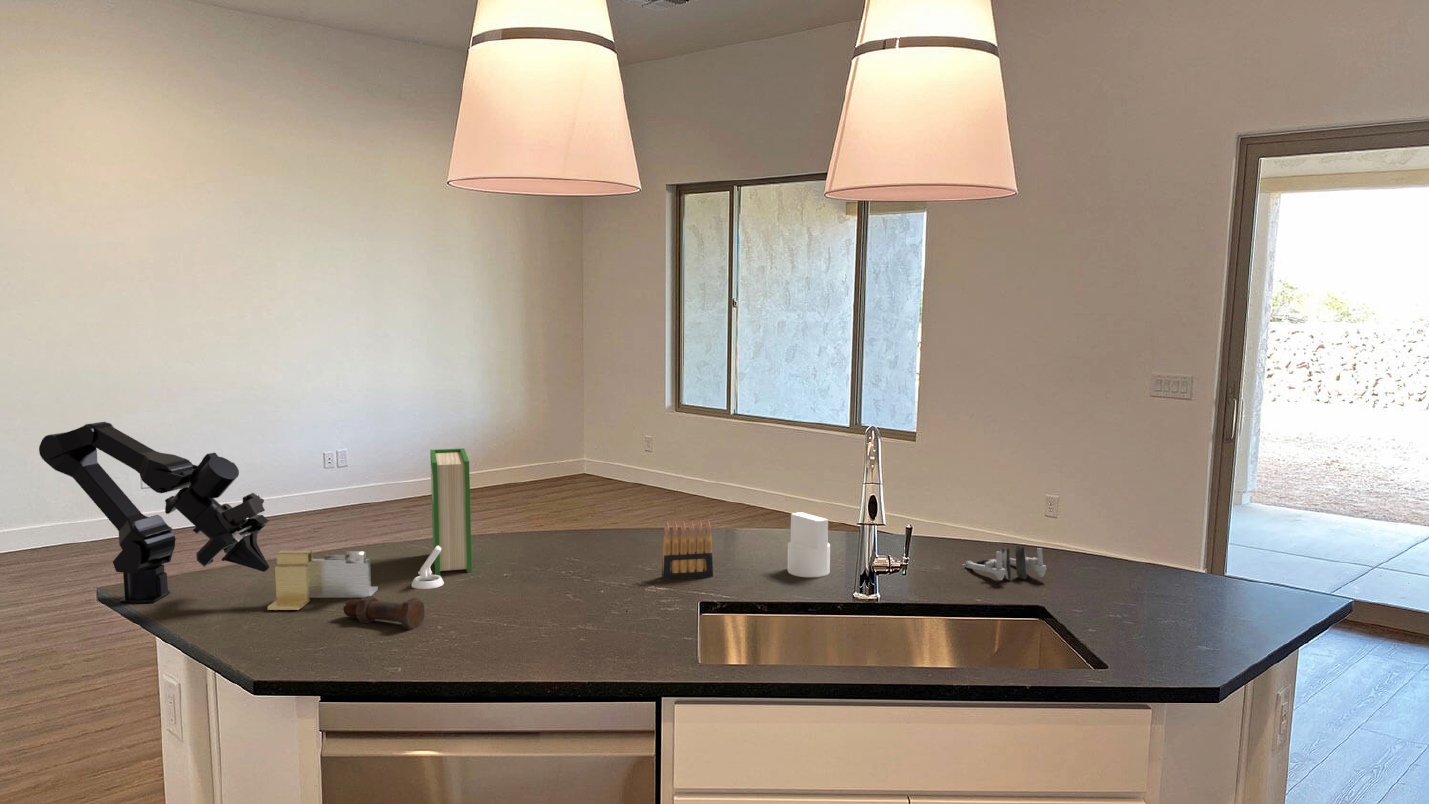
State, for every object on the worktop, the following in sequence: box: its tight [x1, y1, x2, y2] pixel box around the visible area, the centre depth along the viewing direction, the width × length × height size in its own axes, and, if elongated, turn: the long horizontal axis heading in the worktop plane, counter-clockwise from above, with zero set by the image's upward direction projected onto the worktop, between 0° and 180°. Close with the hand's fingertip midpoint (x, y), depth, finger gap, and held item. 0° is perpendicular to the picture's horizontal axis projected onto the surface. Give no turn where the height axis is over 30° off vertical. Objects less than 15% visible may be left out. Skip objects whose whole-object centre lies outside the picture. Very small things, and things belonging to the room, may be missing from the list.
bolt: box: [343, 595, 426, 631], centre depth 177 cm, size 6×5×15 cm
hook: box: [411, 545, 445, 590], centre depth 200 cm, size 6×10×6 cm
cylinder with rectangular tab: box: [787, 511, 831, 578], centre depth 211 cm, size 9×9×12 cm
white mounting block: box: [305, 550, 379, 599], centre depth 192 cm, size 12×8×10 cm
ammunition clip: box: [661, 519, 714, 581], centre depth 206 cm, size 11×2×12 cm, turn 102°
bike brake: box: [961, 545, 1047, 581], centre depth 212 cm, size 14×7×20 cm
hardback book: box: [429, 448, 473, 576], centre depth 215 cm, size 18×7×24 cm, turn 17°
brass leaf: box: [267, 549, 313, 611], centre depth 186 cm, size 6×7×9 cm
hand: (267, 569), depth 187 cm, fingers closed
